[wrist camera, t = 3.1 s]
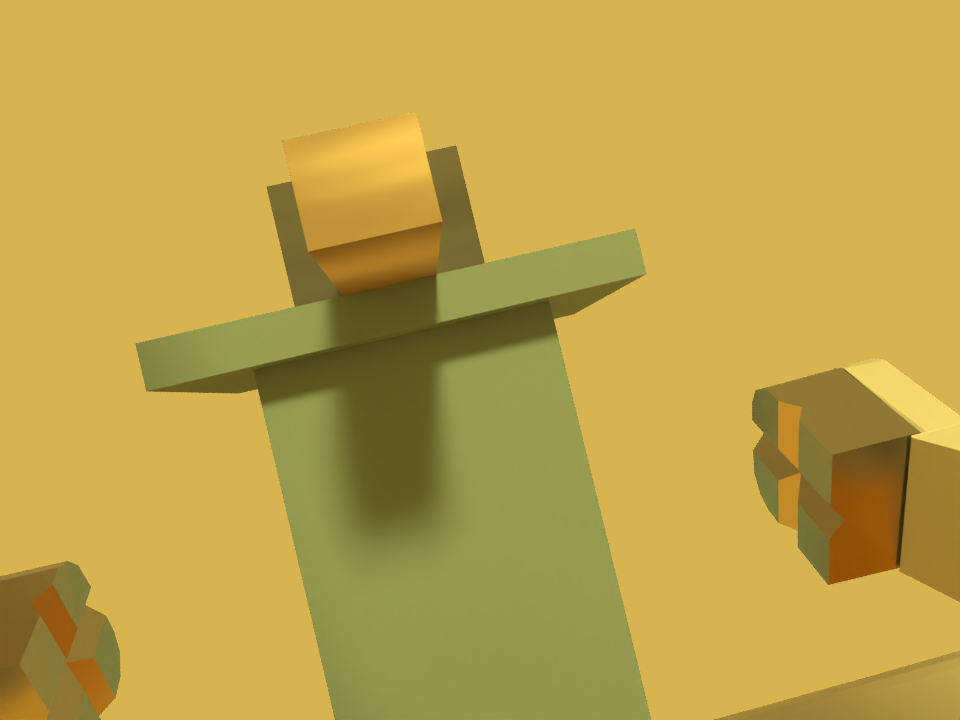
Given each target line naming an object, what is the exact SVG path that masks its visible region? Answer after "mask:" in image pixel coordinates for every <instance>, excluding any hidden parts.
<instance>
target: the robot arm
mask: <svg viewBox="0 0 960 720" xmlns="http://www.w3.org/2000/svg"><path fill="white" fill-rule="evenodd" d="M752 416H753V418H752V420H753V421H754V422H755V423H756V424H757V426H758V427H759V428H760V429H761V430H762V431H763V432H764V434H763V436H762V437H761V439H760V440H759V442H758V444H757V445H756V447H755V448H754V450H753V455H754V473H755V477H756V480H757V484H758V487H759V490H760V494H761V496H762V498H763V500H764V502H765V504H766V506H767V508H768V509H769V511H770V512H771V513H772V515H773V516H774V517H775V519H776V520H777V521H778V523H780V524H783V525H785V526H788V527H790V528H793V529H795V530H798V548H799V549H800V550H801V552H802V553H803V554H804V555H805V556H806V558H807V559H808V560H809V561H810V563H811V564H812V565H813V566H814V568H815V569H816V570H817V571H818V573H819V574H820V575H821V576H822V578H823V579H824V580H825V581H826V583H827V584H828V585H830V584H834V583H838V582H842V581H847V580H851V579H855V578H859V577H863V576H867V575H871V574H875V573H880V572H884V571H888V570H892V569H896V568H900V572H902V573H904V574H906V575H908V576H910V577H912V578H914V579H916V580H918V581H920V582H922V583H924V584H926V585H928V586H930V587H932V588H934V589H935V590H937V591H939V592H942V593H943V594H945V595H948V596H949V597H952V598H953V599H955V600H957V601H959V602H960V415H958V414H957V413H956V412H954V411H953V410H951V409H950V408H949V407H947V406H946V405H945V404H943V403H942V402H941V401H939V400H938V399H937V398H935V397H934V396H932V395H931V394H930V393H928V392H927V391H926V390H924V389H923V388H922V387H920V386H919V385H918V384H916V383H915V382H914V381H912V380H911V379H909V378H908V377H907V376H905V375H904V374H903V373H901V372H900V371H899V370H897V369H896V368H895V367H893V366H892V365H890V364H889V363H888V362H886V361H885V360H883V359H878V358H869V359H866V360H862V361H859V362H855V363H852V364H848V365H845V366H841V367H838V368H835V369H834V370H830V371H827V372H822V373H819V374H815V375H811V376H807V377H804V378H800V379H796V380H792V381H789V382H785V383H781V384H777V385H774V386H770V387H766V388H762V389H758V390H756V391H755V394H754V398H753V402H752ZM90 588H91V587H90V585H89V583H88V582H87V580H86V578H85V576H84V575H83V573H82V571H81V570H80V568H79V566H78V565H75V564H73V563H71V562H68V561H66V562H62V563H57V564H53V565H48V566H44V567H39V568H35V569H31V570H26V571H22V572H18V573H13V574H9V575H5V576H0V720H101V719H100V718H99V715H100V714H101V713H102V712H103V711H104V710H105V709H106V708H107V707H108V705H109V704H110V703H111V702H112V701H113V700H114V699H115V698H116V693H117V689H118V684H119V680H120V652H119V647H118V644H117V641H116V637H115V633H114V631H113V629H112V627H111V625H110V623H109V621H108V619H107V617H106V616H105V615H103V614H101V613H100V612H98V611H96V610H94V609H92V608H90V607H88V606H86V605H85V604H86V600H87V598H88V594H89V591H90ZM716 720H960V651H958V652H955V653H951V654H947V655H944V656H940V657H937V658H933V659H930V660H926V661H923V662H919V663H916V664H912V665H909V666H905V667H901V668H898V669H894V670H891V671H888V672H884V673H880V674H877V675H874V676H870V677H866V678H863V679H859V680H856V681H852V682H849V683H845V684H841V685H838V686H834V687H830V688H827V689H823V690H820V691H816V692H813V693H809V694H805V695H802V696H798V697H794V698H791V699H787V700H784V701H780V702H777V703H773V704H769V705H766V706H762V707H759V708H755V709H752V710H748V711H744V712H740V713H737V714H733V715H730V716H726V717H723V718H719V719H716Z"/></svg>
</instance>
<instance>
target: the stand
mask: <svg viewBox="0 0 960 720" xmlns="http://www.w3.org/2000/svg"><path fill="white" fill-rule="evenodd" d="M645 274H646V271H645V267H644V263H643V258H642V254H641V250H640V246H639V242H638V238H637V234H636V230H635V229H632V230H627V231H623V232H618V233H614V234H610V235H605V236H601V237H597V238H592V239H588V240H584V241H580V242H575V243H571V244H566V245H563V246H558V247H554V248H549V249H545V250H540V251H536V252H532V253H527V254H523V255H519V256H514V257H510V258H505V259H501V260H497V261H492V262H488V263H484V264H479V265H475V266H471V267H466V268H462V269H458V270H453V271H449V272H445V273H440V274H436V275H432V276H427V277H423V278H419V279H414V280H410V281H406V282H401V283H397V284H393V285H388V286H384V287H379V288H375V289H371V290H366V291H362V292H358V293H353V294H349V295H345V296H340V297H336V298H332V299H327V300H323V301H319V302H314V303H310V304H306V305H301V306H297V307H293V308H288V309H284V310H280V311H275V312H271V313H266V314H262V315H258V316H254V317H249V318H245V319H240V320H236V321H232V322H228V323H223V324H219V325H214V326H210V327H206V328H201V329H197V330H193V331H188V332H184V333H180V334H175V335H171V336H166V337H162V338H158V339H154V340H149V341H145V342H140V343H136V347H137V352H138V357H139V361H140V365H141V369H142V374H143V378H144V383H145V387H146V391H155V392H157V391H158V392H199V393H243V392H247V391H251V390H255V389H258V391H259V395H260V400H261V404H262V408H263V413H264V417H265V421H266V425H267V430H268V434H269V438H270V443H271V447H272V451H273V456H274V460H275V464H276V468H277V473H278V477H279V481H280V486H281V490H282V494H283V498H284V503H285V507H286V511H287V516H288V520H289V524H290V528H291V532H292V536H293V541H294V546H295V550H296V554H297V558H298V563H299V567H300V571H301V575H302V580H303V584H304V588H305V593H306V597H307V601H308V605H309V610H310V614H311V618H312V622H313V627H314V631H315V635H316V640H317V644H318V648H319V653H320V657H321V661H322V665H323V669H324V673H325V678H326V682H327V687H328V691H329V695H330V700H331V704H332V708H333V712H334V717H335V720H651V716H650V712H649V709H648V705H647V700H646V696H645V692H644V688H643V684H642V680H641V676H640V671H639V667H638V664H637V659H636V655H635V651H634V647H633V643H632V639H631V634H630V630H629V626H628V622H627V618H626V614H625V610H624V606H623V602H622V598H621V594H620V590H619V585H618V581H617V577H616V573H615V569H614V565H613V561H612V557H611V553H610V548H609V544H608V540H607V536H606V532H605V528H604V524H603V520H602V516H601V512H600V507H599V504H598V499H597V495H596V491H595V487H594V483H593V479H592V475H591V471H590V467H589V463H588V458H587V454H586V450H585V446H584V442H583V438H582V434H581V430H580V426H579V421H578V417H577V413H576V409H575V405H574V401H573V397H572V393H571V389H570V384H569V381H568V376H567V372H566V368H565V364H564V360H563V356H562V352H561V348H560V344H559V339H558V335H557V331H556V327H555V323H554V319H555V318H559V317H564V316H568V315H572V314H575V313H577V312H578V311H580V310H582V309H584V308H586V307H587V306H589V305H591V304H593V303H595V302H596V301H598V300H600V299H602V298H604V297H605V296H607V295H609V294H611V293H613V292H615V291H616V290H618V289H620V288H622V287H624V286H625V285H627V284H629V283H631V282H633V281H635V280H636V279H638V278H640V277H642V276H644V275H645Z"/></svg>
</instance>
